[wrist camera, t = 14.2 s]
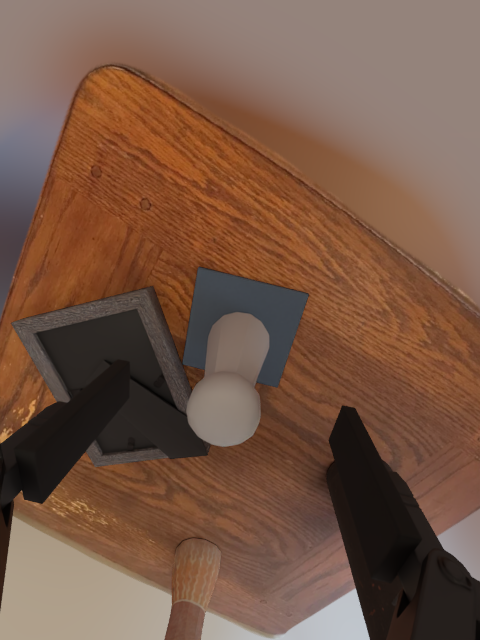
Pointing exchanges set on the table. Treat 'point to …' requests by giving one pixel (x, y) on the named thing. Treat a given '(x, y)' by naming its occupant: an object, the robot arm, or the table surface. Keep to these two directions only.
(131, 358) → the picture frame
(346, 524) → the container
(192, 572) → the vase
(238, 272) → the table surface
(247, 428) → the salt shaker
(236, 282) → the mat
